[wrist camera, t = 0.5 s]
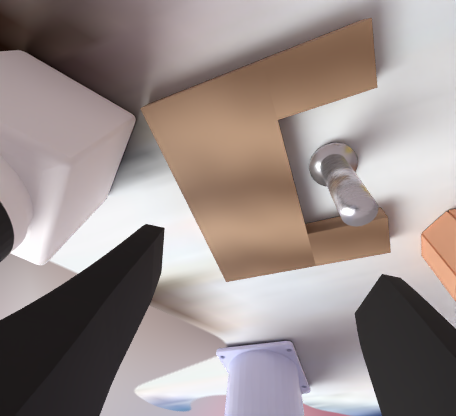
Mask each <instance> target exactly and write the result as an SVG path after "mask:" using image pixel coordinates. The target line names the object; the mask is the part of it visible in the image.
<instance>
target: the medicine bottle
mask: <svg viewBox="0 0 456 416" xmlns="http://www.w3.org/2000/svg"><path fill="white" fill-rule="evenodd" d="M135 121H136V118H135V116H134V115H133V114H131V113H130V112H128V111H126V110H124V109H123V108H121V107H119V106H118V105H116V104H114V103H112V102H111V101H109V100H107V99H105V98H104V97H102V96H100V95H99V94H97V93H95V92H93V91H92V90H90V89H88V88H86V87H85V86H83V85H81V84H80V83H78V82H76V81H74V80H73V79H71V78H69V77H67V76H66V75H64V74H62V73H61V72H59V71H57V70H55V69H54V68H52V67H50V66H48V65H47V64H45V63H43V62H42V61H40V60H38V59H36V58H35V57H33V56H31V55H29V54H28V53H26V52H24V51H20V50H14V51H1V52H0V262H1V261H2V260H3V259H4V258H5V257H7V256H8V255H9V254H10V253H11V254H14V255H16V256H18V257H21V258H23V259H25V260H28V261H30V262H32V263H34V264H37V265H44V264H45V263H46V262H48V261H49V260H50V259H51V258H52V257H53V255H54V254H55V253H56V252H57V251H58V250H59V249H60V248H61V247H62V246H63V245H64V244H65V243H66V242H67V241H68V240H69V238H70V237H71V236H72V235H73V234H74V233H75V232H76V231H77V230H78V229H79V228H80V227H81V226H82V225H83V224H84V222H85V221H86V220H87V219H88V218H89V217H90V216H91V215H92V214H93V213H94V212H95V211H96V210H97V209H98V208H99V207H100V205H101V204H102V203H103V202H104V201H105V200H106V199H107V197H108V194H109V191H110V189H111V186H112V183H113V181H114V178H115V175H116V172H117V170H118V167H119V164H120V162H121V159H122V156H123V154H124V151H125V148H126V146H127V143H128V140H129V138H130V135H131V132H132V130H133V127H134V124H135Z"/></svg>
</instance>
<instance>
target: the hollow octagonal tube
mask: <svg viewBox="0 0 456 416" xmlns="http://www.w3.org/2000/svg"><path fill="white" fill-rule="evenodd" d="M422 233H423V234H421V250H422V257H423V258H424V259H425V261H426V262H427V263H428V265H429V266H430V268H431V269H432V270H433V272H434V273H435V274H436V276H437V277H438V278H439V280H440V281H441V282H442V284H443V285H444V287H445V288H446V289H447V291H448V292H449V293H450V295H451V296H452V297H453V299H454V300H455V301H456V209H452V210H449V212H447V211H446V212H445V213H444V214H443V215H442V216H440V217H439V218H438V219H437V220H436V221H435V222H434V223H433V224H431V225H430V226H429V227H428V228H427V229H426V230H425V231H424V232H422Z"/></svg>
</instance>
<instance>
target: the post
mask: <svg viewBox="0 0 456 416" xmlns="http://www.w3.org/2000/svg"><path fill="white" fill-rule="evenodd" d="M357 165H358V159H357V156H356V154H355V152H354V151H353V150H352V148H351V147H349V146H348V145H346V144H343V143H338V142H335V143H329V144H326V145H324V146H322V147H320V148H319V149H318V150H317V151H316V152H315V153H314V154H313V156H312V157H311V160H310V163H309V170H310V173H311V176H312V178H313V179H314V180H315V181H316V182H317V183H318V184H320V185H323V186H327V187H328V189H329V192H330V194H331V196H332V198H333V200H334V203H335V205H336V207H337V209H338V212H339V214H340V216H341V218H342V220H343V222H344V223H346V224H347V225H350V226H363V225H366V224H368V223H370V222H371V221H372V220H373V219H374V218H375V217H376V215H377V213H378V205H377V203H376V201H375V200H374V199H373V197H372V196H371V194H370V193H369V191H368V190H367V189H366V187H365V186H364V184H363V183H362V181H361V180H360V179H359V177H358V176H357V174H356V173H355V171H356V169H357Z"/></svg>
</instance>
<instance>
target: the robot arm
mask: <svg viewBox="0 0 456 416" xmlns="http://www.w3.org/2000/svg"><path fill="white" fill-rule="evenodd" d="M163 242H164V228H162V227H157V226H153V225H148V224H145V225H144V226H142V227H141V228H140V229H138V230H137V231H136V232H135V233H133V234H132V235H131V236H130V237H128V238H127V239H126V240H124V241H123V242H122V243H121V244H119V245H118V246H117V247H115V248H114V249H113V250H111V251H110V252H109V253H107V254H106V255H104V256H103V257H102V258H100V259H99V260H98V261H96V262H95V263H93V264H92V265H91V266H89V267H88V268H86V269H85V270H83V271H82V272H80V273H79V274H77V275H76V276H74V277H73V278H71V279H70V280H69V281H67V282H65V283H64V284H62V285H61V286H59V287H58V288H56V289H54V290H53V291H51V292H50V293H48V294H46V295H44V296H43V297H41V298H39V299H38V300H36V301H34V302H33V303H31V304H29V305H27V306H25V307H24V308H22V309H20V310H18V311H17V312H15V313H13V314H11V315H9V316H7V317H5V318H4V319H2V320H0V416H99V415H100V413H101V410H102V408H103V405H104V402H105V400H106V397H107V394H108V392H109V389H110V387H111V384H112V382H113V380H114V378H115V375H116V373H117V371H118V369H119V366H120V364H121V362H122V360H123V358H124V356H125V354H126V352H127V350H128V348H129V346H130V344H131V342H132V340H133V338H134V335H135V334H136V332H137V330H138V327H139V325H140V323H141V321H142V319H143V317H144V315H145V313H146V311H147V309H148V306H149V305H150V303H151V300H152V298H153V295H154V292H155V289H156V286H157V284H158V281H159V278H160V275H161V269H162V255H163ZM355 318H356V324H357V331H358V336H359V341H360V346H361V349H362V353H363V356H364V359H365V362H366V366H367V369H368V372H369V375H370V378H371V382H372V385H373V388H374V391H375V394H376V397H377V401H378V404H379V407H380V410H381V413H382V416H456V329H455V328H454V327H453V326H452V325H451V324H450V323H449V322H448V321H447V320H446V319H445V318H444V317H443V316H442V315H441V314H439V313H438V312H437V311H436V310H435V309H434V308H433V307H432V306H431V305H430V304H429V303H428V302H427V301H426V300H425V299H424V298H423V297H422V296H420V295H419V294H418V293H417V292H416V291H415V290H414V289H413V288H412V287H411V286H409V285H408V284H407V283H406V282H405V281H403V280H402V279H401V278H398V277H393V276H389V275H384V274H382V275H381V276H380V278H379V279H378V281H377V282H376V284H375V285H374V286H373V288H372V289H371V291H370V292H369V294H368V295H367V297H366V298H365V299H364V301H363V302H362V304H361V305H360V307H359V308H358V310H357V311H356V312H355ZM216 354H217V356H218V357H219V359H220V361H221V362H222V364H223V365H224V367H225V369H226V370H227V372H228V373H229V375H228V386H227V396H226V406H225V416H304V411H303V401H302V394H304V393H309V392H310V387H309V384H308V381H307V379H306V376H305V374H304V371H303V369H302V366H301V364H300V361H299V358H298V356H297V353H296V351H295V348H294V346H293V343H292V342H290V341H281V342H272V343H263V344H254V345H245V346H236V347H227V348H220V349H217V352H216Z"/></svg>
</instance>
